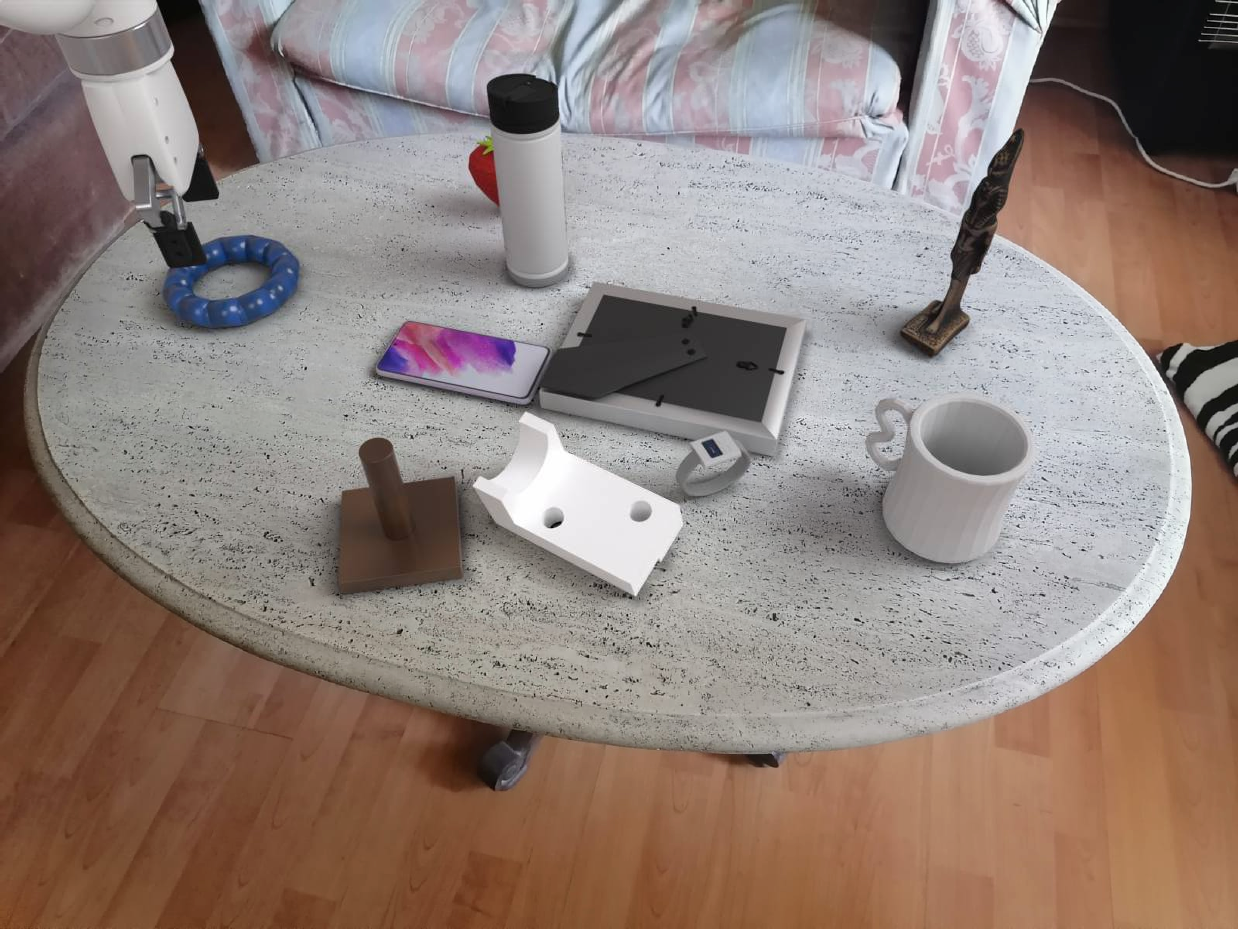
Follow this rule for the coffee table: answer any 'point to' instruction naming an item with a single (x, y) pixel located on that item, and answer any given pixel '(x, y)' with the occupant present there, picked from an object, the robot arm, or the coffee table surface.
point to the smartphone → (465, 362)
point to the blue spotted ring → (244, 306)
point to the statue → (967, 253)
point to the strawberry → (484, 169)
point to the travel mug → (529, 177)
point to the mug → (952, 473)
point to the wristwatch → (713, 463)
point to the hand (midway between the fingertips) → (195, 230)
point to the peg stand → (397, 527)
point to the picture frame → (676, 366)
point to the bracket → (580, 509)
